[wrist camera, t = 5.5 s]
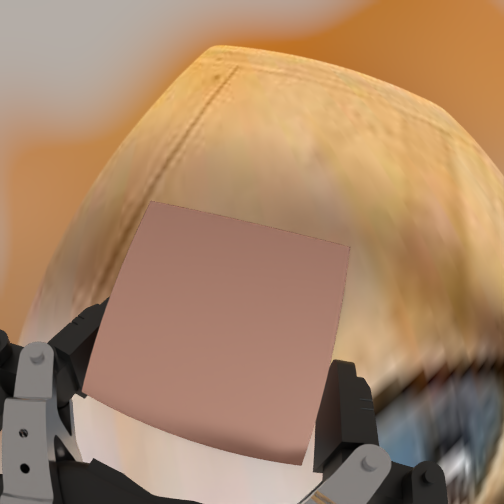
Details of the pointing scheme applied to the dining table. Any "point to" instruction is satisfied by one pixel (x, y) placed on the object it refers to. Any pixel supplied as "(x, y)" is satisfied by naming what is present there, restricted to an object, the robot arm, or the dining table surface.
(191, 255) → the cap
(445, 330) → the dining table surface
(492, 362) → the dining table surface
